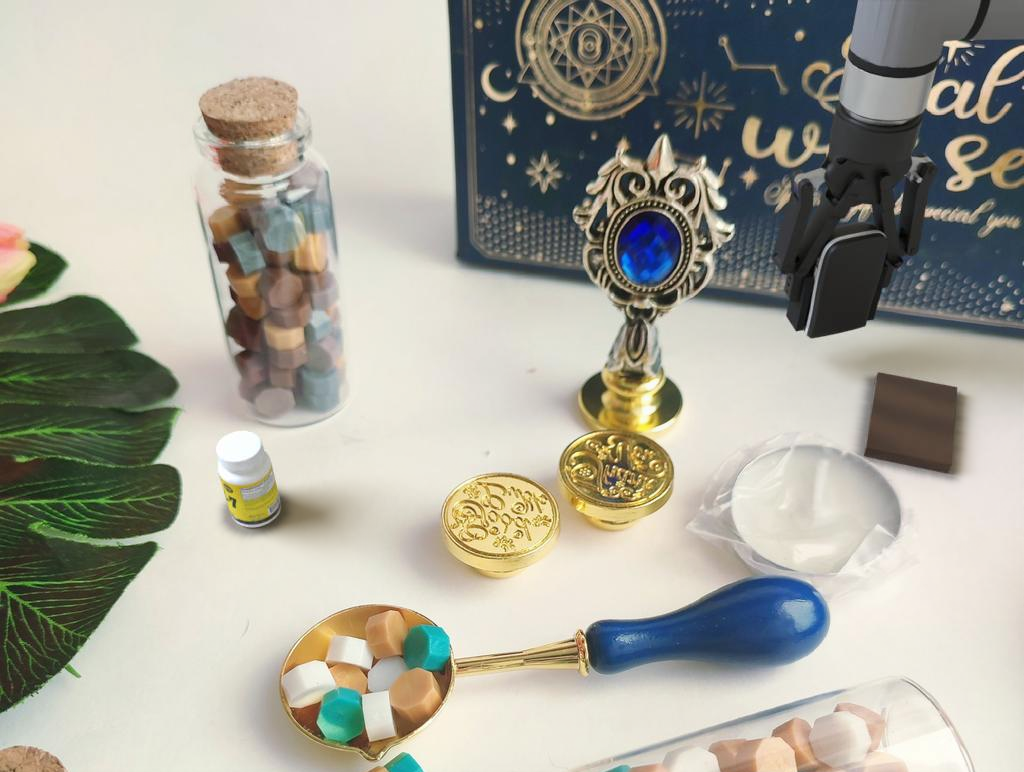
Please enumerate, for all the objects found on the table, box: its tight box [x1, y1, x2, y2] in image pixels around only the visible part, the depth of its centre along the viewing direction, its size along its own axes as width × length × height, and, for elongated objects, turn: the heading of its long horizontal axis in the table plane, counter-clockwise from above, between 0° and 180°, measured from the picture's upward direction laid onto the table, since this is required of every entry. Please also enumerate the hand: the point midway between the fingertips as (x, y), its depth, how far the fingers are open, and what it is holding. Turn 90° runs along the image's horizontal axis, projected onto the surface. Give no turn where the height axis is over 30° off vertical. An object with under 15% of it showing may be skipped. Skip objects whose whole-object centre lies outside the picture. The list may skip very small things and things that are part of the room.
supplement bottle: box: [216, 430, 282, 528], centre depth 98 cm, size 5×5×8 cm
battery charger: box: [802, 221, 888, 340], centre depth 108 cm, size 7×4×11 cm, turn 108°
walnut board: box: [863, 371, 958, 474], centre depth 108 cm, size 12×8×1 cm, turn 162°
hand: (829, 317), depth 112 cm, fingers closed on battery charger, 7 cm apart
